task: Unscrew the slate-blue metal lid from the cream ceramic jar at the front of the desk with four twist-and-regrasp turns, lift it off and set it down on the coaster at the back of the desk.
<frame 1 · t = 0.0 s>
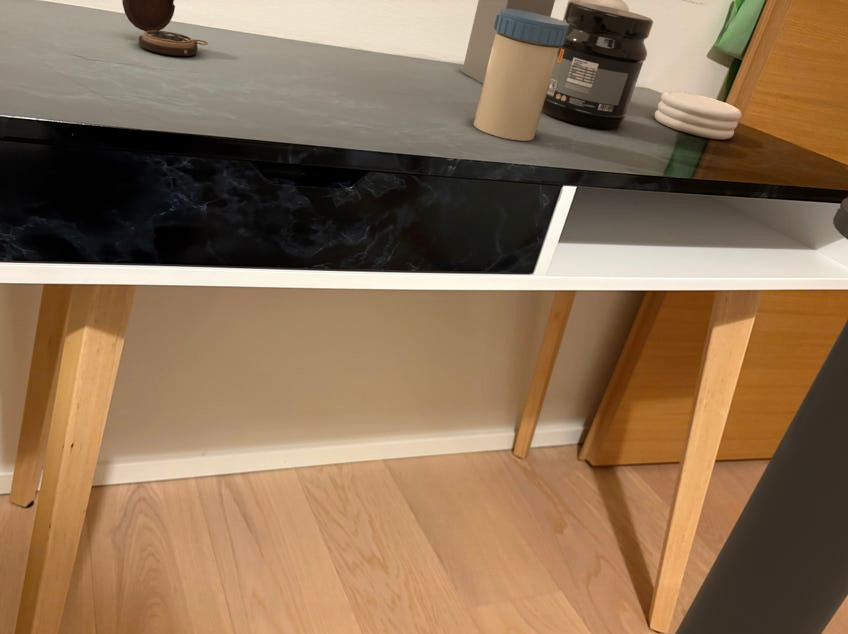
supplement container: (577, 119, 96), on the table
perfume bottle: (495, 82, 107), on the table
pill bottle: (572, 95, 109), on the table
lid: (533, 20, 77), point 11 cm above the table, screwed on, not yet turned
compass: (171, 50, 87), on the table
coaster: (691, 129, 103), on the table
jar: (503, 130, 83), on the table
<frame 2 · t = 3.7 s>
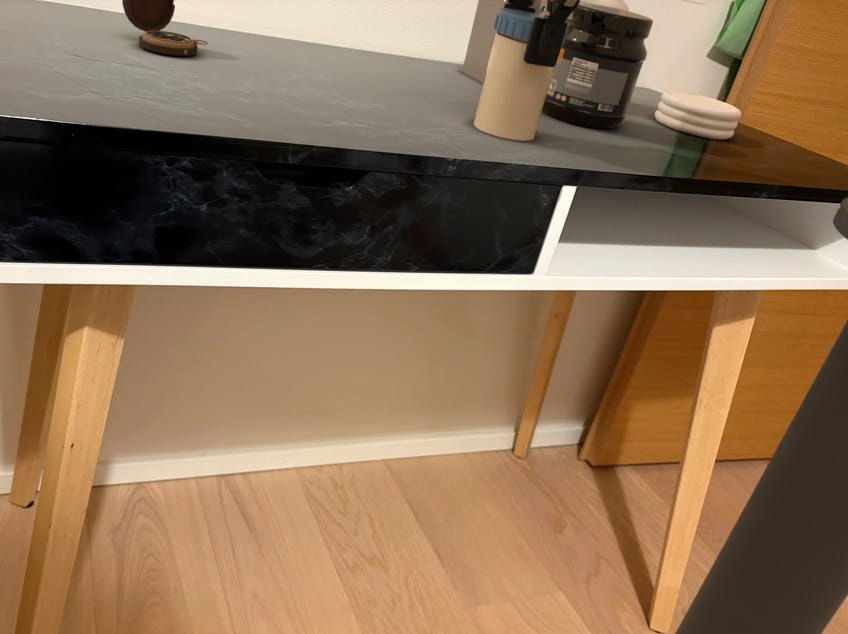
hand: (524, 54, 79), 8 cm above the table, tool pointing down, fingers closed on lid, 6 cm apart
lid: (533, 20, 77), point 11 cm above the table, screwed on, not yet turned, touching gripper
everything else where it was.
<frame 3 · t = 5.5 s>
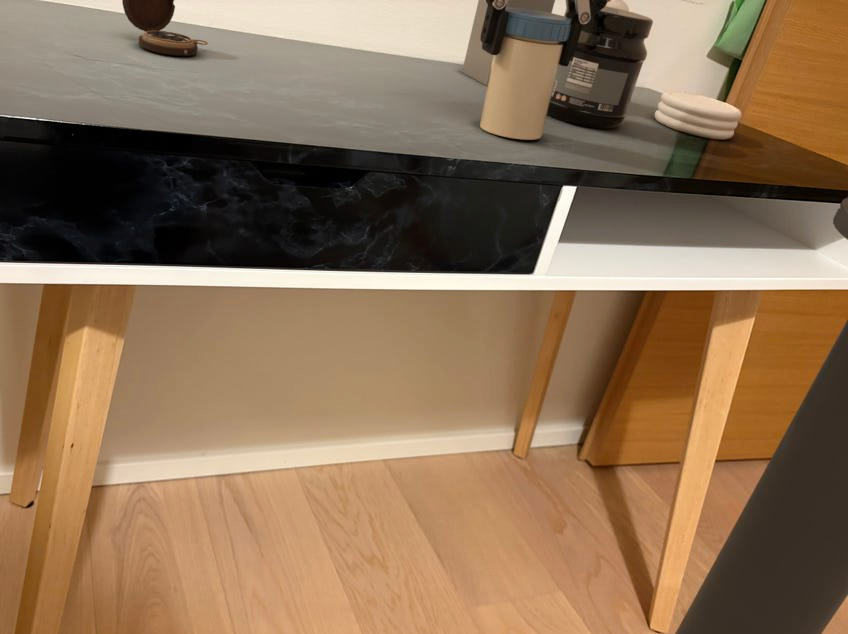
hand: (524, 56, 79), 7 cm above the table, tool pointing down, fingers closed on lid, 6 cm apart
lid: (535, 18, 77), point 11 cm above the table, turned 89° so far, risen 0.1 cm, still on its thread, touching gripper
jar: (510, 131, 82), on the table, touching gripper
everything else where it was.
when the fingers open (8 cm above the table, at t = 9.4 s): lid stays where it is, point 11 cm above the table.
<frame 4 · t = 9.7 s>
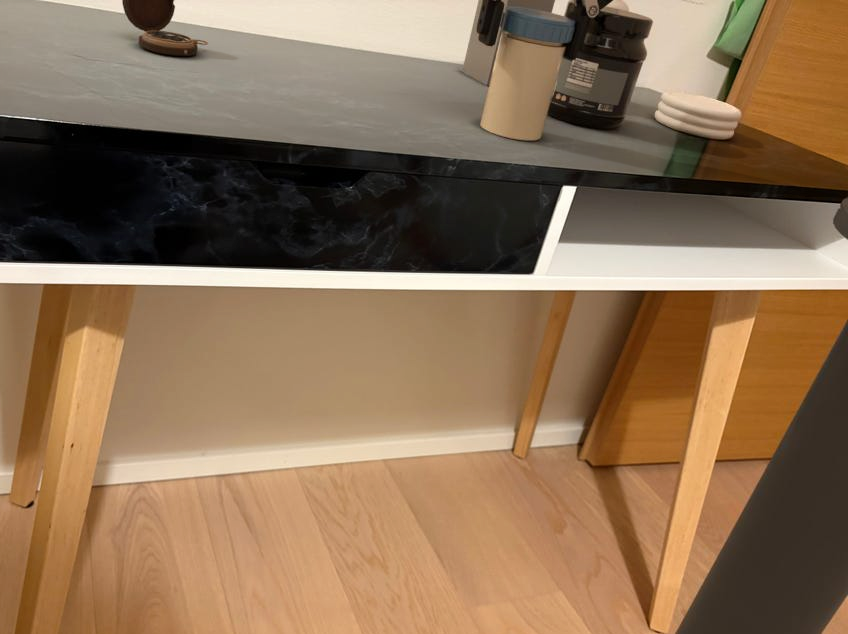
hand: (526, 49, 79), 8 cm above the table, tool pointing down, fingers open, 8 cm apart
lid: (539, 18, 77), point 11 cm above the table, turned 165° so far, risen 0.2 cm, still on its thread
jar: (510, 130, 83), on the table
everything else where it was.
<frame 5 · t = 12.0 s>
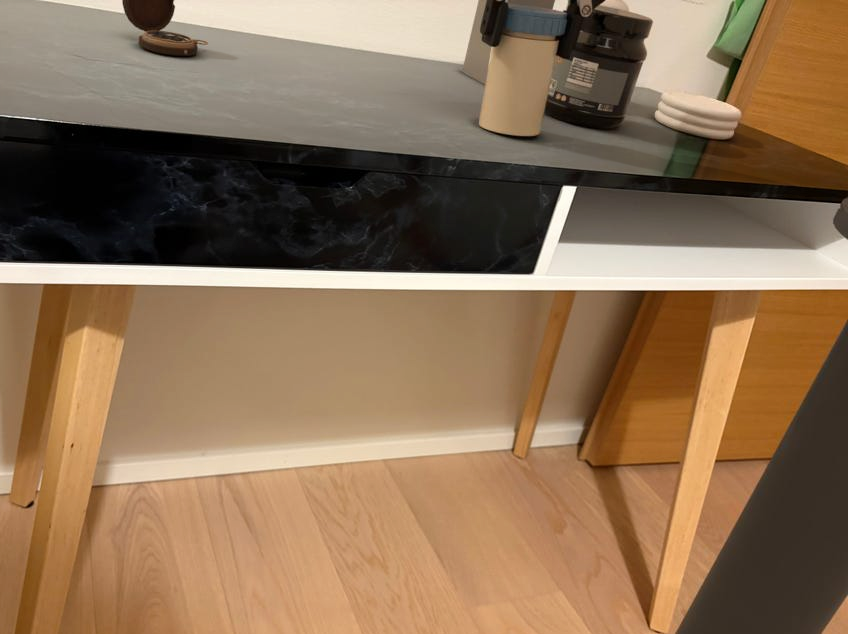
hand: (525, 48, 79), 8 cm above the table, tool pointing down, fingers closed on lid, 7 cm apart
lid: (531, 13, 78), point 11 cm above the table, turned 248° so far, risen 0.3 cm, still on its thread, touching gripper
jar: (509, 128, 83), on the table, touching gripper
everything else where it was.
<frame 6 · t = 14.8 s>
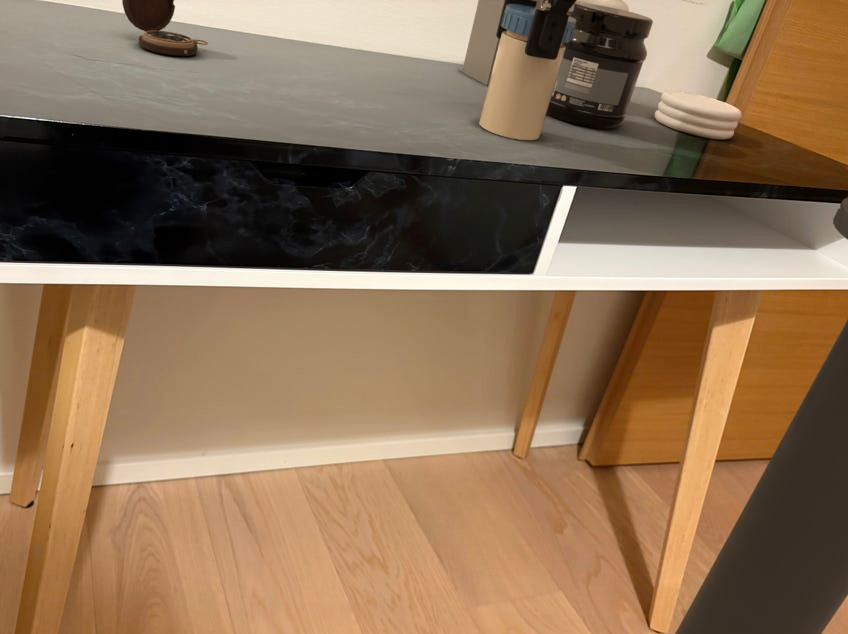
hand: (525, 47, 79), 8 cm above the table, tool pointing down, fingers closed on lid, 6 cm apart
lid: (540, 17, 77), point 11 cm above the table, turned 248° so far, risen 0.3 cm, still on its thread, touching gripper
jar: (509, 129, 83), on the table
everything else where it was.
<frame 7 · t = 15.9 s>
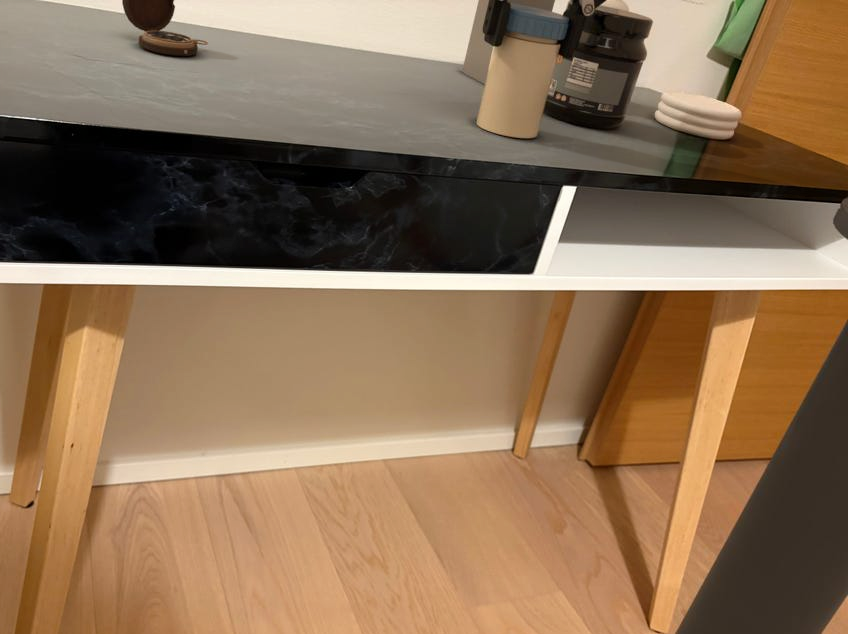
hand: (527, 48, 78), 8 cm above the table, tool pointing down, fingers closed on lid, 6 cm apart
lid: (533, 15, 78), point 11 cm above the table, off its thread, touching gripper
jar: (506, 129, 83), on the table, touching gripper
everything else where it was.
when the fingers open (5 cm above the table, at t = 24.4 s): lid drops 3 cm, resting on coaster.
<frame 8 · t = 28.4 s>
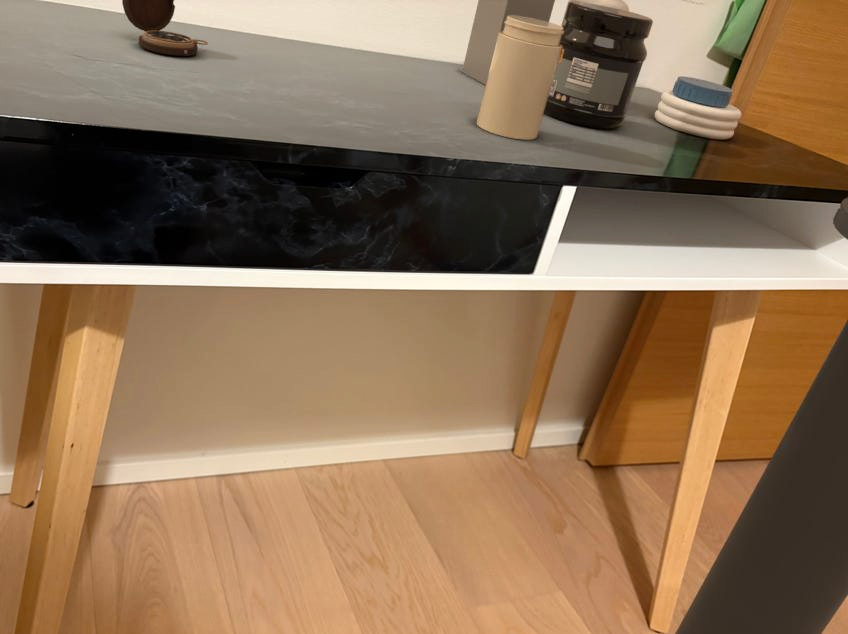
lid: (704, 87, 101), point 5 cm above the table, off its thread, touching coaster
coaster: (691, 129, 103), on the table, touching lid
jar: (506, 129, 83), on the table
everything else where it was.
at the end: lid came off its thread; lid inside the target area on the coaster (0.8 cm from its centre), point 5.2 cm above the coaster's base; the gripper is holding nothing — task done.
